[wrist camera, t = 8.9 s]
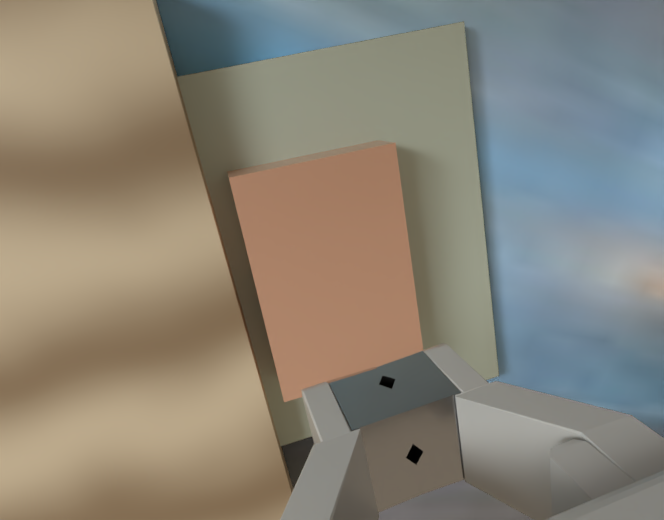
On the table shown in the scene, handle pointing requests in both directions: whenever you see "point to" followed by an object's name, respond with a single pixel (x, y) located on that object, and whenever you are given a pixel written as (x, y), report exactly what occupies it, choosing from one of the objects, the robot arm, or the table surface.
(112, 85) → the beige flat block
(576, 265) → the table surface
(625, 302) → the table surface
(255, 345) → the mat
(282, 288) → the tile
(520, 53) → the table surface
